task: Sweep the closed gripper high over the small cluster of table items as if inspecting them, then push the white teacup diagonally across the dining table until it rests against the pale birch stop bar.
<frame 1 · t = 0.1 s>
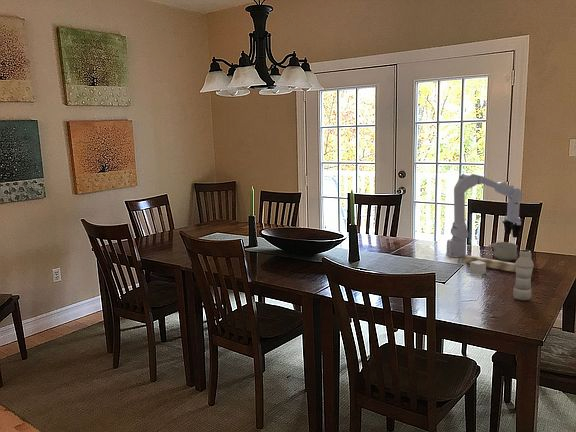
hand: (511, 235, 253), 10 cm above the table, tool pointing down, fingers open, 7 cm apart
stop bar: (488, 266, 234), on the table
plastic bottle: (521, 299, 190), on the table
grey block: (477, 272, 225), on the table
teacup: (501, 259, 246), on the table
sage shaker: (525, 267, 232), on the table
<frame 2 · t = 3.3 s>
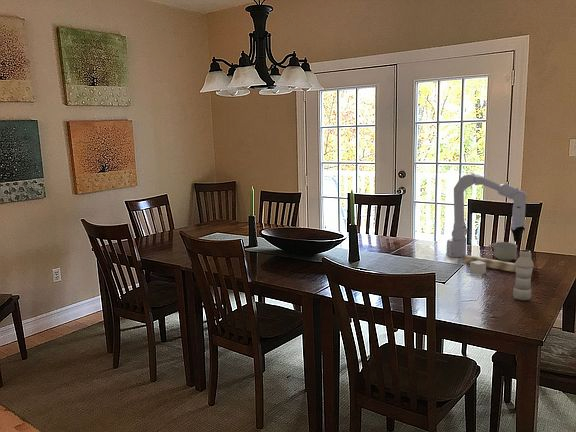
hand: (516, 241, 239), 10 cm above the table, tool pointing down, fingers closed
nothing on the table moved.
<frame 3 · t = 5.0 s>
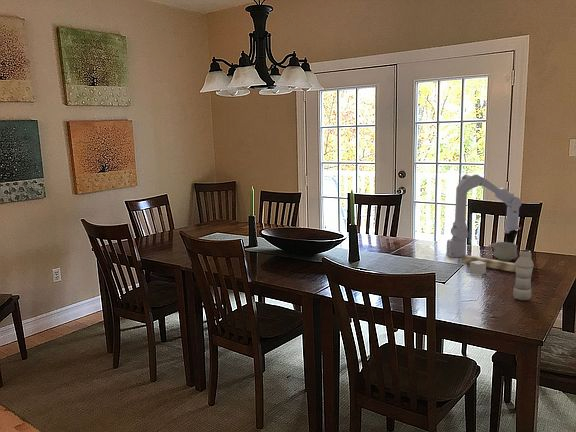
hand: (510, 244, 254), 6 cm above the table, tool pointing down, fingers closed
nothing on the table moved.
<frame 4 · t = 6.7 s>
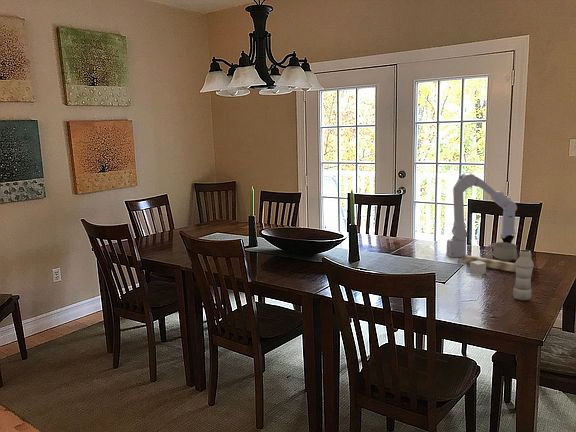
hand: (506, 249, 250), 4 cm above the table, tool pointing down, fingers closed
teacup: (501, 259, 246), on the table, touching gripper
everything else where it was.
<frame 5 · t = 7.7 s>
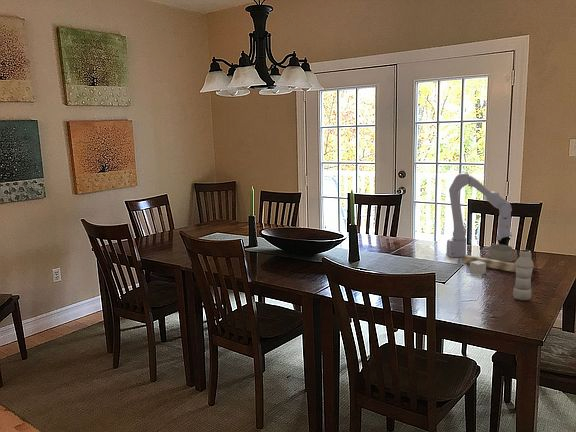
hand: (502, 251, 246), 4 cm above the table, tool pointing down, fingers closed
teacup: (496, 262, 242), on the table, touching gripper
everything else where it was.
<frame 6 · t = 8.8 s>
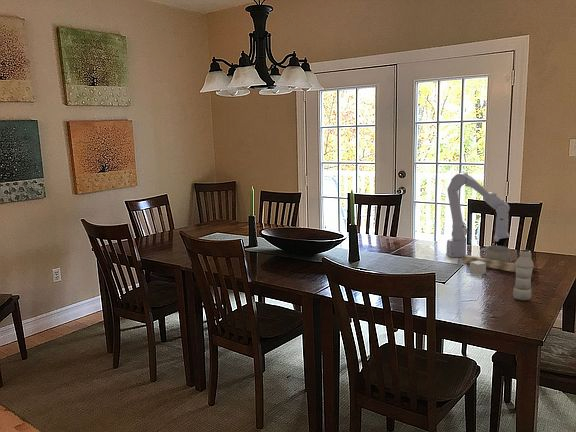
hand: (500, 252, 244), 4 cm above the table, tool pointing down, fingers closed
teacup: (494, 263, 239), on the table, touching gripper
everything else where it was.
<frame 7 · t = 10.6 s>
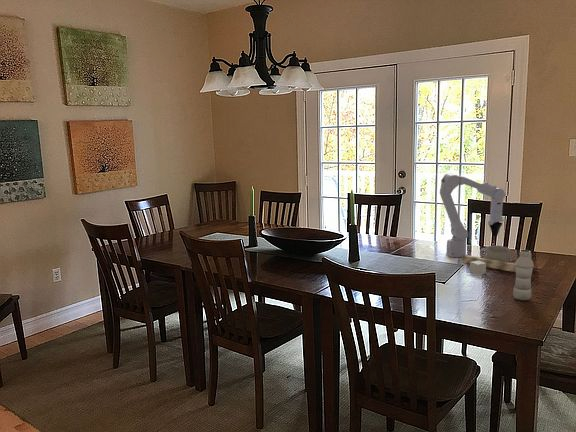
hand: (494, 236, 252), 10 cm above the table, tool pointing down, fingers closed
teacup: (494, 263, 239), on the table
everything else where it was.
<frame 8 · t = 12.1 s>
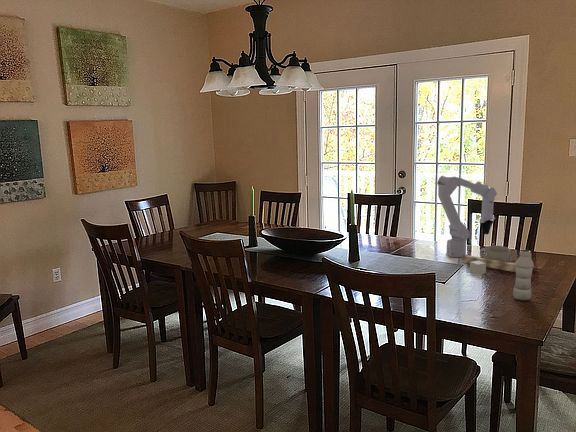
hand: (486, 234, 257), 10 cm above the table, tool pointing down, fingers closed
nothing on the table moved.
at the end: teacup 7.2 cm from the stop bar (horizontally); teacup moved 9.8 cm from its start; teacup tilted 0° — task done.
